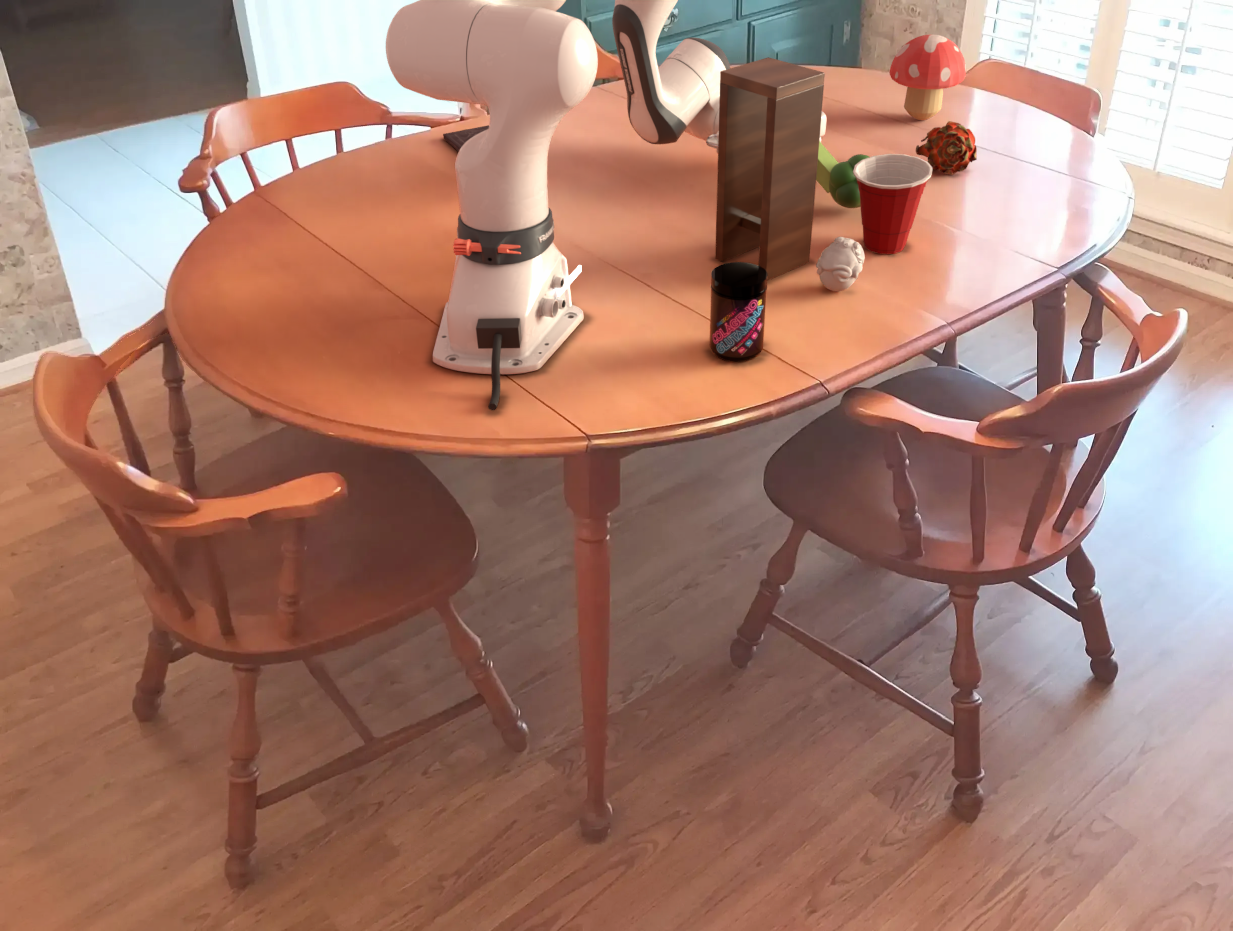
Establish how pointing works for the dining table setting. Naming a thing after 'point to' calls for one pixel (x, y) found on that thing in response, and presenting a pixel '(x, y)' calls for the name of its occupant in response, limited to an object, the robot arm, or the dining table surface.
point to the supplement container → (737, 311)
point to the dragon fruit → (949, 148)
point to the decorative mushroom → (927, 73)
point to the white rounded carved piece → (840, 264)
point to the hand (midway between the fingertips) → (809, 146)
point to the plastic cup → (890, 198)
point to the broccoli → (839, 178)
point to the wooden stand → (768, 162)
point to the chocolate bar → (462, 136)
